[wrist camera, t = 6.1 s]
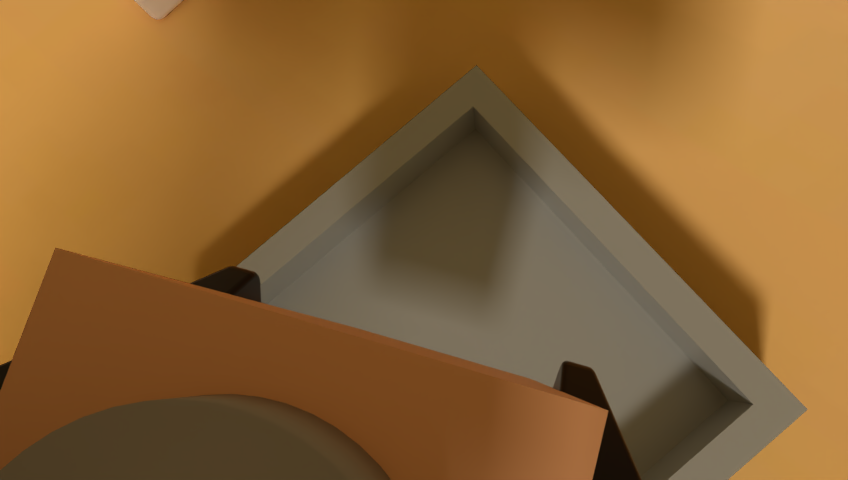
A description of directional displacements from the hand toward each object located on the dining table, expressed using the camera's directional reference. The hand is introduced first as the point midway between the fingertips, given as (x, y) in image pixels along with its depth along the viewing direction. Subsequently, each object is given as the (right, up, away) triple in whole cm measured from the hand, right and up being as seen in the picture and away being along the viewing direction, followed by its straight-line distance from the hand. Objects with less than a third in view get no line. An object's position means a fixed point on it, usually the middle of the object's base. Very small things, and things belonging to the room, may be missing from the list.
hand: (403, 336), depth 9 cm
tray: (+1, -3, +13) cm, 13 cm away
